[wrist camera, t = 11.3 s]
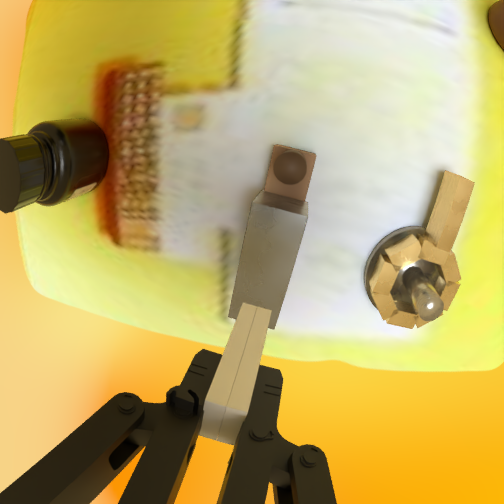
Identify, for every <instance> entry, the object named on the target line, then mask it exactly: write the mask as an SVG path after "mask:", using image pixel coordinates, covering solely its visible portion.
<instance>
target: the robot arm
mask: <svg viewBox="0 0 504 504" xmlns="http://www.w3.org/2000/svg"><path fill="white" fill-rule="evenodd" d="M256 309H257V310H256ZM271 311H272V310H268V309H265V308H261V307H257V306H254V305H250V304H247V303H243V304H242V306H241V309H240V311H239V314H238V317H237V319H236V322H235V324H234V327H233V330H232V332H231V335H230V337H229V340H228V343H227V345H226V348H225V350H224V353H223V355H221V354H217V353H215V352H211V351H208V350H205V349H202V350H201V351H200V352H198V353H197V354H196V355H195V356H194V358H193V360H192V362H191V365H190V366H189V368H188V371H187V373H186V374H185V377H184V378H183V381H182V382H181V384H180V386H175V387H173V388H171V389H170V390H169V391H168V392H167V393H166V402H164V403H148V402H143V401H142V400H141V399H140V398H139V397H138V396H136V395H135V394H133V393H127V392H124V393H119V394H117V395H115V396H114V397H113V398H111V399H110V400H109V401H108V402H107V403H106V404H105V405H104V406H102V407H101V408H100V409H99V410H98V411H97V412H95V413H94V414H93V415H92V416H91V417H90V418H89V419H87V420H86V421H85V422H84V423H83V424H82V425H81V426H79V427H78V428H77V429H76V430H75V431H73V432H72V433H71V434H70V435H69V436H68V437H67V438H65V439H64V440H63V441H62V442H61V443H60V444H59V445H57V446H56V447H55V448H54V449H53V450H51V451H50V452H49V453H48V454H47V455H46V456H44V457H43V458H42V459H41V460H40V461H38V462H37V463H36V464H35V465H34V466H32V467H31V468H30V469H29V470H28V471H27V472H25V473H24V474H23V475H22V476H21V477H19V478H18V479H17V480H16V481H15V482H13V483H12V484H11V485H10V486H9V487H7V488H6V489H5V490H4V491H2V492H1V493H0V504H90V502H92V500H94V499H95V498H96V497H97V496H98V495H99V493H101V492H102V490H103V489H104V488H105V487H106V486H107V485H108V484H109V483H110V482H111V481H112V480H113V479H114V478H115V477H116V476H117V475H118V474H119V473H120V472H121V471H122V470H123V469H124V467H126V466H127V465H128V464H129V462H130V461H131V460H132V459H133V458H134V457H135V456H136V455H137V454H138V453H139V452H140V451H141V450H142V449H143V448H144V446H146V447H145V450H144V452H143V454H142V456H141V458H140V460H139V462H138V464H137V466H136V468H135V470H134V472H133V474H132V476H131V478H130V480H129V482H128V484H127V486H126V488H125V490H124V492H123V494H122V496H121V498H120V500H119V503H118V504H174V502H175V499H176V497H177V494H178V491H179V489H180V486H181V483H182V481H183V478H184V475H185V473H186V470H187V467H188V465H189V462H190V459H191V457H192V454H193V451H194V449H195V445H196V440H197V438H198V435H200V436H203V437H206V438H210V439H213V440H217V441H220V442H223V443H227V444H231V445H234V449H233V452H232V454H231V457H230V459H229V462H228V467H227V471H226V474H225V478H224V481H223V484H222V488H221V491H220V494H219V498H218V501H217V504H265V500H266V495H267V490H268V484H269V482H270V483H272V484H273V492H274V501H275V504H337V503H336V498H335V494H334V489H333V485H332V480H331V476H330V472H329V467H328V463H327V458H326V456H325V454H324V452H323V451H322V450H321V449H320V448H318V447H316V446H314V445H308V444H306V445H302V446H297V445H295V444H293V443H290V442H288V441H287V440H285V439H284V438H283V437H282V436H281V435H280V434H279V432H278V430H277V417H278V411H279V404H280V398H281V391H282V384H283V377H282V374H281V372H280V370H278V369H274V368H270V367H266V366H263V365H259V364H260V360H261V356H262V351H263V347H264V343H265V338H266V334H267V329H268V325H269V321H270V316H271ZM218 434H219V435H218ZM217 437H218V438H217Z"/></svg>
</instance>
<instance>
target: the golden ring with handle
mask: <svg viewBox="0 0 504 504" xmlns="http://www.w3.org/2000/svg"><path fill="white" fill-rule="evenodd" d="M473 186H474V182H472V181H470V180H468V179H466V178H464V177H462V176H460V175H457V174H454V173H451V172H449V171H446V170H445V173H444V176H443V180H442V183H441V186H440V190H439V193H438V196H437V199H436V202H435V205H434V208H433V211H432V214H431V217H430V220H429V223H428V225H427V228H426V231H425V233H424V235H422V234H419V233H417V236H416V237H415V236H414V235H413V234H410V235H408V236H407V237H405V238H403V239H401V240H399V241H397V242H396V243H394V244H392V245H390V246H388V247H386V248H384V249H385V252H386V254H387V255H385V254H382V253H380V255H379V257H378V260H377V262H376V265H375V268H374V270H373V273H372V275H371V277H370V280H369V283H370V286H369V289H370V292H371V295H372V297H373V300H374V302H375V304H376V306H377V308H378V310H379V312H380V314H381V317H382V319H383V321H384V320H386V322H387V324H392V325H396V326H401V327H405V328H410V329H413V327H414V325H415V324H416V326H417V328H419V327H421V326H423V325H424V324H426V323H428V322H430V321H424V320H422V319H421V318H420V316H419V314H418V312H417V310H416V308H415V306H414V304H409V303H405V302H401V301H397V300H393V298H392V296H391V294H390V291H391V289H392V286H393V284H394V282H395V280H396V277H397V275H398V273H399V270H401V269H403V268H405V267H407V266H409V265H411V264H413V263H414V262H416V261H418V260H420V259H424V260H427V261H430V262H433V263H436V266H437V269H438V272H439V277H438V279H437V281H436V283H435V285H434V289H435V290H436V292H437V293H438V295H439V296H440V298H441V299H442V301H443V303H444V309H443V310H446V311H447V310H448V308H449V306H450V304H451V302H452V300H453V298H454V296H455V294H456V292H457V290H458V288H459V286H460V283H459V282H458V281H459V280H461V276H460V273H459V269H458V265H457V262H456V258H455V255H454V253H453V252H452V251H451V249H452V246H453V244H454V241H455V239H456V236H457V234H458V231H459V228H460V226H461V223H462V220H463V217H464V214H465V211H466V208H467V205H468V202H469V199H470V196H471V193H472V190H473ZM441 315H443V312H442V313H441ZM441 315H440V316H441ZM440 316H439V317H440Z"/></svg>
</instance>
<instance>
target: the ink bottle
mask: <svg viewBox="0 0 504 504" xmlns="http://www.w3.org/2000/svg"><path fill="white" fill-rule="evenodd" d="M107 160H108V148H107V142H106V139H105V136H104V134H103V132H102V131H101V129H100V128H99V127H98V126H97V125H96V124H95V123H93V122H91V121H89V120H86V119H67V120H55V121H45V122H41V123H39V124H37V125H35V126H34V127H33V128H32V129H31V130H30V131H29V132H28V134H26V135H24V134H23V135H18V136H12V137H7V138H2V139H0V210H1V211H2V212H4V213H8V212H13V211H16V210H18V209H20V208H23V207H25V206H28V205H30V204H32V203H34V202H36V203H38V204H40V205H43V206H54V205H57V204H60V203H62V202H65V201H67V200H70V199H72V198H75V197H78V196H80V195H83V194H85V193H88V192H90V191H92V190H93V189H95V188H96V187H97V186H98V184H99V183H100V182H101V180H102V178H103V176H104V173H105V170H106V166H107Z"/></svg>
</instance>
